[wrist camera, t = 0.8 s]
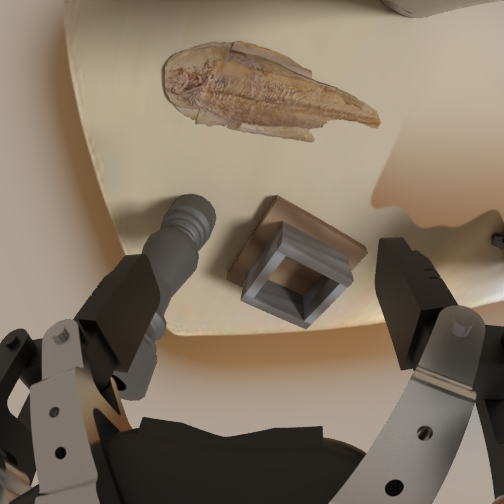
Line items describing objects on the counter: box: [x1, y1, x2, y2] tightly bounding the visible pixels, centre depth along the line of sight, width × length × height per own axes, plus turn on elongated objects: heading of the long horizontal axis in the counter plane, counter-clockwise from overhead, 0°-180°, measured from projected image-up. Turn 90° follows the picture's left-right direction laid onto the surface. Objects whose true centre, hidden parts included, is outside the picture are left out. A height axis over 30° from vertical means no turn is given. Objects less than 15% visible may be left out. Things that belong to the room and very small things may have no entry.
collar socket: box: [226, 195, 368, 329], centre depth 38 cm, size 14×14×6 cm
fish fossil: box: [164, 41, 381, 142], centre depth 29 cm, size 26×10×1 cm, turn 80°
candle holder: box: [112, 194, 216, 401], centre depth 28 cm, size 6×6×25 cm
